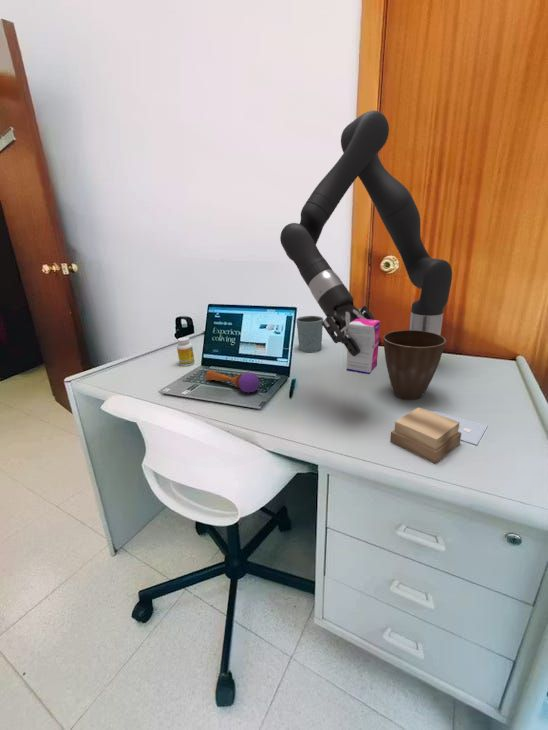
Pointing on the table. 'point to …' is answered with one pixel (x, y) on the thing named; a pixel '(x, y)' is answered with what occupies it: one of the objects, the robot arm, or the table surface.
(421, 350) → the plant pot
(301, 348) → the gray cup
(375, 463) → the table surface
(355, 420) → the table surface
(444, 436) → the base block
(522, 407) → the table surface
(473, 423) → the page
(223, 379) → the kendama
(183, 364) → the supplement bottle
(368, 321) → the supplement box
